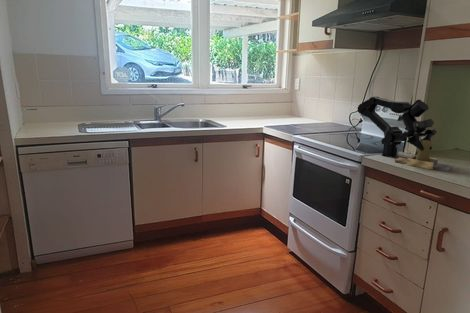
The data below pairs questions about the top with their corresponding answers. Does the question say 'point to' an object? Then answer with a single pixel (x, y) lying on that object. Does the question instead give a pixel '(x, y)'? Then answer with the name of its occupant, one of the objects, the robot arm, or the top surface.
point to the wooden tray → (423, 163)
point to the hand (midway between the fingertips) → (426, 149)
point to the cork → (424, 151)
